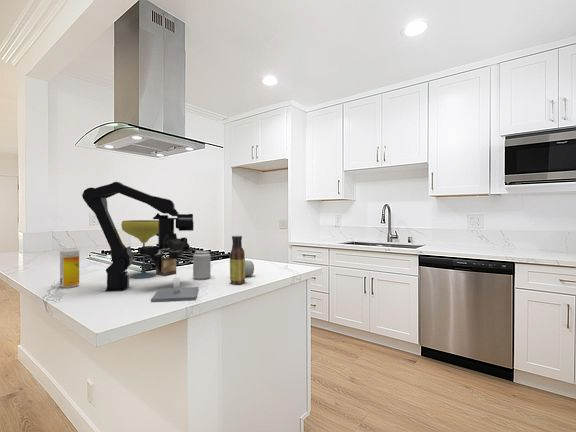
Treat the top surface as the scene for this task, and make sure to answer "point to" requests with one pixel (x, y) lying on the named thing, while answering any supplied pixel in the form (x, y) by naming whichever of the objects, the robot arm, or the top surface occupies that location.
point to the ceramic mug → (249, 268)
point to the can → (201, 265)
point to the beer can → (69, 267)
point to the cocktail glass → (141, 237)
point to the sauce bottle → (237, 261)
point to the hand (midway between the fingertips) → (166, 270)
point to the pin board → (175, 293)
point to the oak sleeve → (167, 267)
